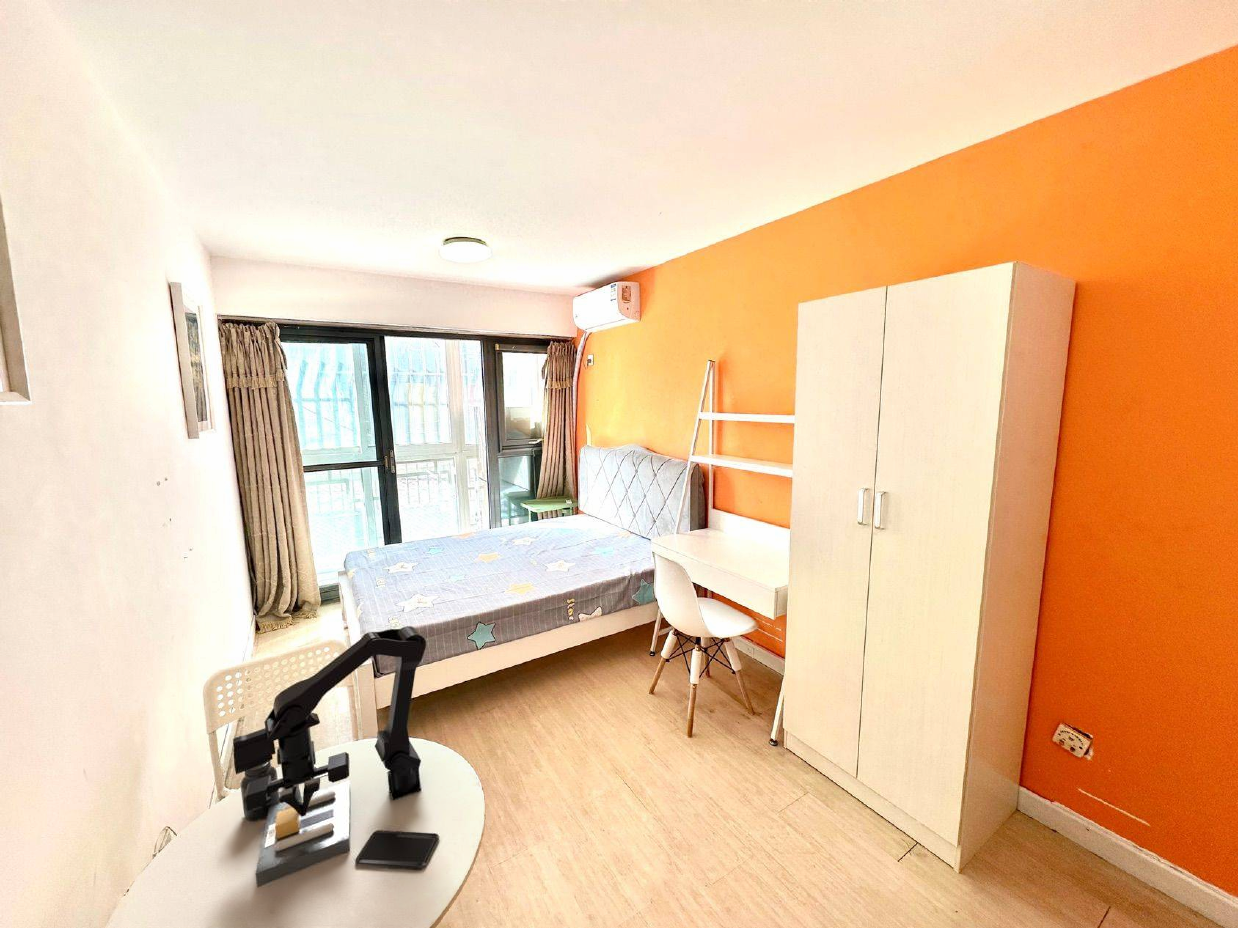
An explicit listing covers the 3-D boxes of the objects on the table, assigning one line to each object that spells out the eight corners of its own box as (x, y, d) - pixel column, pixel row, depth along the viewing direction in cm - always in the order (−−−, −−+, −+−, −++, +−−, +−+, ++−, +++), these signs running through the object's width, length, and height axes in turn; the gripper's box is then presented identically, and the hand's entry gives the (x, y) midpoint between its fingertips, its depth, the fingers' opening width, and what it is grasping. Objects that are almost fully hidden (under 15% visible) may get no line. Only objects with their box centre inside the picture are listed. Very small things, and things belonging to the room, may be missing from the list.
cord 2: (336, 794, 116) (335, 787, 116) (335, 798, 114) (335, 792, 114) (281, 812, 111) (280, 806, 111) (280, 817, 110) (279, 811, 109)
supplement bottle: (262, 824, 111) (255, 776, 110) (236, 820, 113) (230, 772, 111) (287, 800, 118) (282, 754, 116) (263, 796, 120) (257, 750, 118)
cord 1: (334, 826, 107) (333, 819, 107) (334, 831, 106) (333, 825, 105) (275, 847, 102) (274, 841, 102) (274, 854, 101) (273, 847, 101)
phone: (423, 867, 100) (352, 862, 101) (424, 872, 100) (353, 867, 101) (440, 833, 107) (374, 828, 109) (441, 837, 108) (375, 833, 109)
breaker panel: (350, 791, 120) (349, 780, 120) (350, 850, 105) (348, 837, 104) (270, 818, 113) (269, 806, 112) (257, 886, 97) (255, 873, 97)
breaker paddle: (301, 816, 109) (299, 804, 109) (299, 830, 106) (297, 818, 105) (279, 824, 108) (277, 812, 107) (276, 838, 104) (275, 826, 104)
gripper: (346, 714, 117) (352, 774, 119) (249, 741, 108) (257, 805, 111) (345, 742, 107) (352, 807, 109) (238, 774, 99) (248, 844, 101)
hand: (303, 814), depth 108 cm, fingers closed
